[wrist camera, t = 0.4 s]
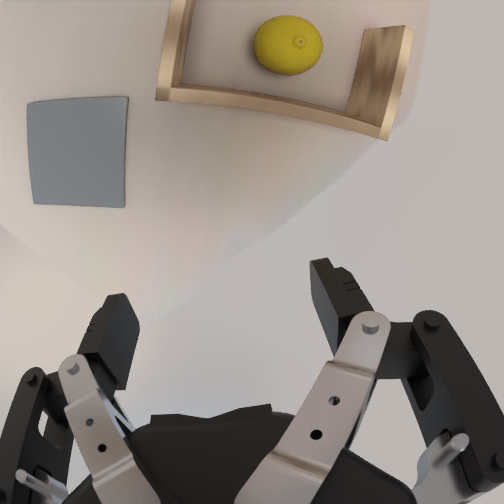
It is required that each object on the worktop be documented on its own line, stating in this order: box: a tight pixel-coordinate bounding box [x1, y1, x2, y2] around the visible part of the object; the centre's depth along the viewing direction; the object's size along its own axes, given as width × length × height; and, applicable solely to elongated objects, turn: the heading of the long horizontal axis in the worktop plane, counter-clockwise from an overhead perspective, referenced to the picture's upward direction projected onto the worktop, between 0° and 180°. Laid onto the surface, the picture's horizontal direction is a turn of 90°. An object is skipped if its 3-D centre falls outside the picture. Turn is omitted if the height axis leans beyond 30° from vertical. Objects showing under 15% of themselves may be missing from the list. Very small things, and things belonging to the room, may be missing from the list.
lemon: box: [254, 16, 323, 75], centre depth 20 cm, size 6×6×8 cm
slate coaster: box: [27, 97, 129, 208], centre depth 26 cm, size 12×12×1 cm
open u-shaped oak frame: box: [155, 0, 414, 141], centre depth 21 cm, size 11×19×8 cm, turn 80°
